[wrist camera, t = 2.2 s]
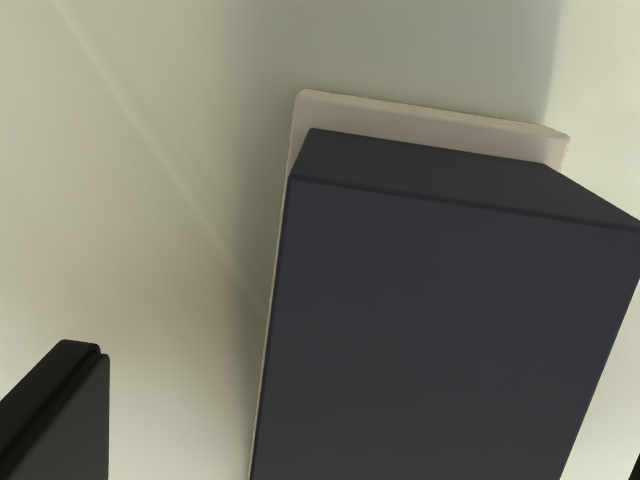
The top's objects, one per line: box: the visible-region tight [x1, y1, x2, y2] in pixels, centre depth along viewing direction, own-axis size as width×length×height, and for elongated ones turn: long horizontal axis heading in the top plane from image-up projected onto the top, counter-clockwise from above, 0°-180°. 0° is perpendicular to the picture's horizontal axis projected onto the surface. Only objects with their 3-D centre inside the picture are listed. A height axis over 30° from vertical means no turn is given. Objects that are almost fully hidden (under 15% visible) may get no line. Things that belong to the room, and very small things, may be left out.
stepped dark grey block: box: [247, 89, 640, 480], centre depth 9 cm, size 10×5×5 cm, turn 172°
